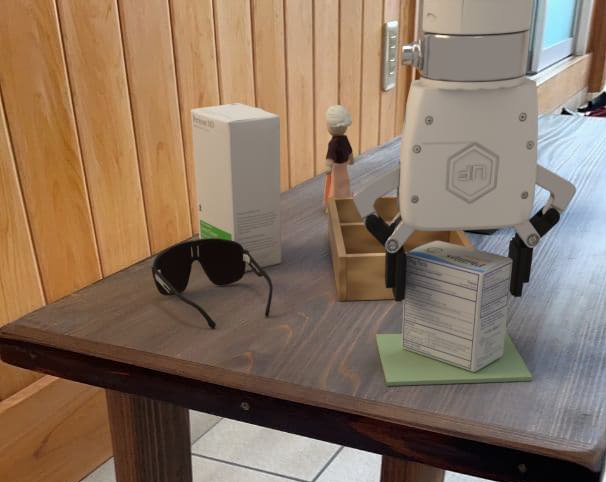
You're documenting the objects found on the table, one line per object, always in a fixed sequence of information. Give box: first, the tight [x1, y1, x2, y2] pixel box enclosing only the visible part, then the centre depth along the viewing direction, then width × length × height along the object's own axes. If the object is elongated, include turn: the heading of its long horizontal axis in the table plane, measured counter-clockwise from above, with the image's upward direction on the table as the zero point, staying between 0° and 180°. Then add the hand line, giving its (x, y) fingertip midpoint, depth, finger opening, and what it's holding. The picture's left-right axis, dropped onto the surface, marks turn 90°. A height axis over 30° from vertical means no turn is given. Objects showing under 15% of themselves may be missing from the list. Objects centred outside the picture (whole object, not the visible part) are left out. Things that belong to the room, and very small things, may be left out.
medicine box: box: [401, 241, 512, 372], centre depth 72 cm, size 8×4×9 cm, turn 45°
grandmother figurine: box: [322, 104, 356, 215], centre depth 109 cm, size 8×4×13 cm, turn 164°
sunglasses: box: [151, 238, 273, 329], centre depth 85 cm, size 10×12×5 cm
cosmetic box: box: [190, 102, 282, 273], centre depth 93 cm, size 8×7×16 cm
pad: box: [375, 329, 533, 387], centre depth 74 cm, size 12×10×1 cm
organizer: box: [327, 194, 475, 302], centre depth 94 cm, size 14×22×4 cm, turn 1°
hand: (455, 293), depth 71 cm, fingers open, 9 cm apart
